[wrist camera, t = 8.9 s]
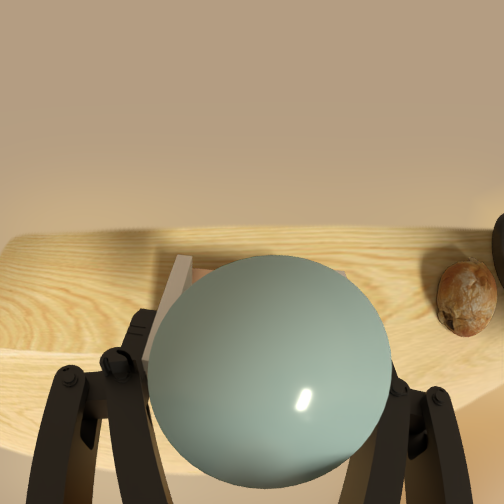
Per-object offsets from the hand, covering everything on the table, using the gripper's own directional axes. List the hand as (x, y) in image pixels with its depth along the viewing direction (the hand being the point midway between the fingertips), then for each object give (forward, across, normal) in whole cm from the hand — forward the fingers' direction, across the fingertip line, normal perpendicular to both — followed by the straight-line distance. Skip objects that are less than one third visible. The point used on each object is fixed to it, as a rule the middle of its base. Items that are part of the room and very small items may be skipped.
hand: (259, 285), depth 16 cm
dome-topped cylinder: (0, 0, -5) cm, 5 cm away
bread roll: (+14, +30, -10) cm, 34 cm away
